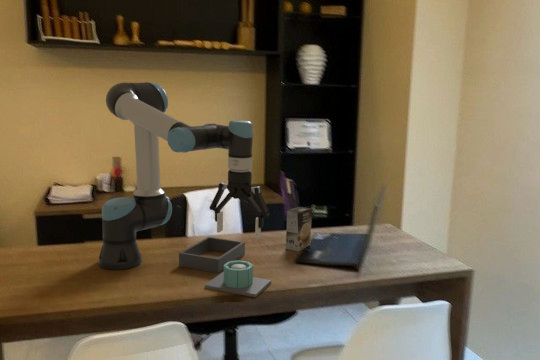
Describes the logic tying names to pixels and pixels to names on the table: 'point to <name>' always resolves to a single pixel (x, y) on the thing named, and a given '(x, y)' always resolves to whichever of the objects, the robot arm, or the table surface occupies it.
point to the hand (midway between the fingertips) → (238, 234)
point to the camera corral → (216, 265)
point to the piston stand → (251, 291)
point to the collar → (238, 274)
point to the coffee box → (298, 228)
